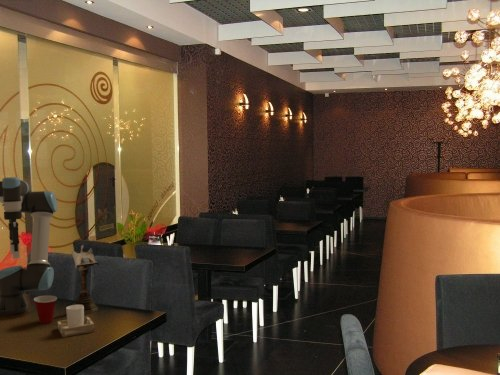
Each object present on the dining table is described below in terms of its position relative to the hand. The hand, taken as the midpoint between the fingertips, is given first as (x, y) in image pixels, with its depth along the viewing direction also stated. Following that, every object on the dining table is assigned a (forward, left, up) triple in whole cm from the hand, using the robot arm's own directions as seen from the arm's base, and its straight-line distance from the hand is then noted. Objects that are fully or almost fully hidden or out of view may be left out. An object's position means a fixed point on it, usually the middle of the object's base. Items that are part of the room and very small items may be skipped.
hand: (15, 256), depth 248 cm
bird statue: (-11, +34, -35) cm, 50 cm away
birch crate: (+16, +23, -35) cm, 45 cm away
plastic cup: (-5, +13, -35) cm, 38 cm away
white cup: (+16, +23, -34) cm, 44 cm away
